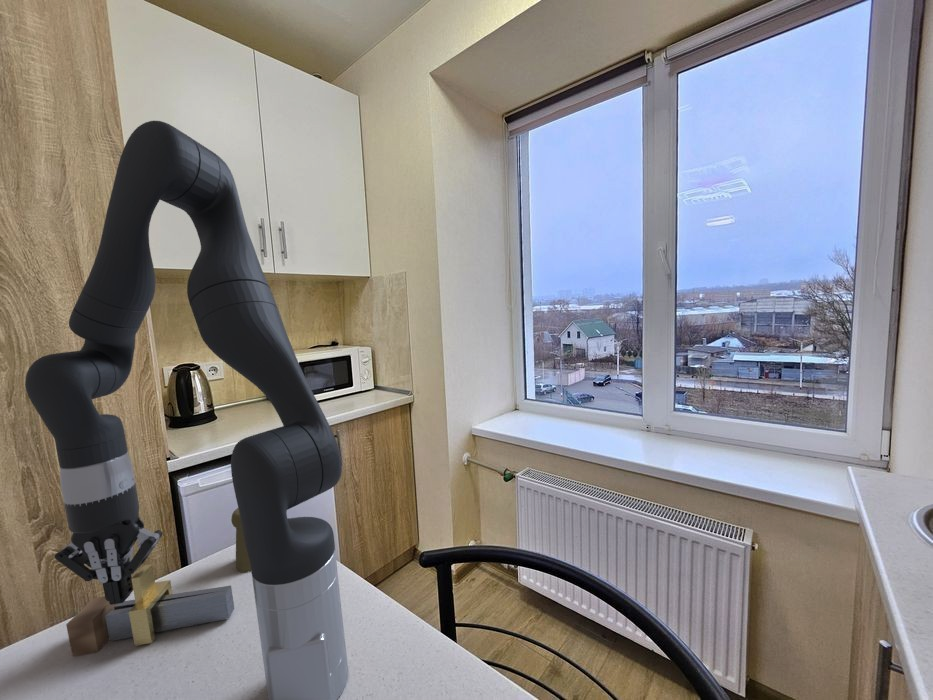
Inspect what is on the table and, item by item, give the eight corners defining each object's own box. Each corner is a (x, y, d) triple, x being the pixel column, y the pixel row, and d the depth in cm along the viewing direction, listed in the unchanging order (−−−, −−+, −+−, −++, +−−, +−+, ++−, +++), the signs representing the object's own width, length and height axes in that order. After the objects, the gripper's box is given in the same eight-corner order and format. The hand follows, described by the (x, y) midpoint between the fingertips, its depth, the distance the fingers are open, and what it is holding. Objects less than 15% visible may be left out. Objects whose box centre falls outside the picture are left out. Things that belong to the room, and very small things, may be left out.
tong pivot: (72, 656, 55) (66, 624, 54) (99, 627, 60) (93, 598, 59) (98, 651, 55) (92, 620, 55) (122, 623, 60) (117, 594, 60)
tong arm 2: (118, 631, 58) (113, 606, 58) (123, 625, 59) (118, 601, 59) (231, 613, 61) (228, 589, 60) (234, 608, 61) (231, 585, 61)
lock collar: (134, 645, 56) (124, 585, 55) (160, 613, 62) (150, 558, 61) (151, 642, 56) (141, 583, 55) (175, 611, 62) (166, 556, 61)
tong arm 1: (109, 640, 57) (105, 616, 56) (114, 635, 58) (110, 610, 57) (229, 618, 60) (225, 594, 59) (231, 613, 61) (228, 589, 60)
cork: (227, 569, 72) (219, 514, 71) (253, 549, 78) (246, 497, 76) (253, 574, 70) (245, 517, 69) (278, 553, 76) (271, 500, 75)
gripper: (167, 472, 60) (183, 575, 62) (69, 483, 58) (89, 590, 60) (135, 494, 53) (155, 610, 55) (21, 509, 51) (46, 629, 53)
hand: (120, 599), depth 57 cm, fingers closed
